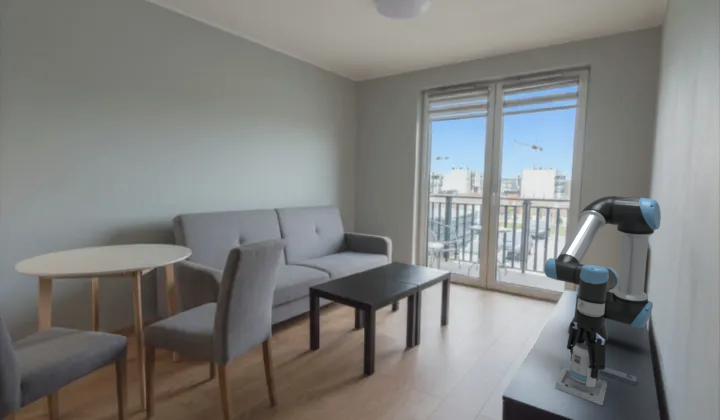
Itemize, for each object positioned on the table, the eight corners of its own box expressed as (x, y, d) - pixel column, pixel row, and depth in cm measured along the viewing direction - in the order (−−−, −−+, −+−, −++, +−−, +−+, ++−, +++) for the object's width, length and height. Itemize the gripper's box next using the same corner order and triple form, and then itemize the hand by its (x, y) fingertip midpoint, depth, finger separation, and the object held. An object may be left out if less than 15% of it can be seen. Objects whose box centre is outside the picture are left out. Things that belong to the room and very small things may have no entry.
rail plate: (562, 372, 127) (563, 367, 127) (606, 387, 119) (607, 382, 119) (555, 388, 117) (555, 382, 117) (602, 405, 109) (603, 399, 109)
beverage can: (598, 388, 114) (602, 352, 113) (575, 385, 115) (579, 349, 114) (588, 376, 121) (592, 342, 120) (566, 373, 122) (570, 340, 121)
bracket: (600, 370, 131) (601, 365, 131) (636, 382, 124) (636, 376, 124) (599, 375, 128) (600, 369, 128) (636, 386, 121) (636, 381, 121)
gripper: (559, 301, 125) (552, 363, 127) (602, 325, 106) (593, 397, 108) (579, 302, 126) (572, 363, 128) (625, 325, 106) (616, 397, 108)
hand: (582, 379), depth 118 cm, fingers closed on beverage can, 7 cm apart
